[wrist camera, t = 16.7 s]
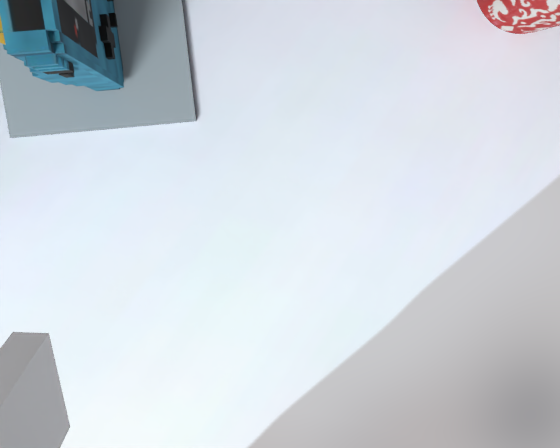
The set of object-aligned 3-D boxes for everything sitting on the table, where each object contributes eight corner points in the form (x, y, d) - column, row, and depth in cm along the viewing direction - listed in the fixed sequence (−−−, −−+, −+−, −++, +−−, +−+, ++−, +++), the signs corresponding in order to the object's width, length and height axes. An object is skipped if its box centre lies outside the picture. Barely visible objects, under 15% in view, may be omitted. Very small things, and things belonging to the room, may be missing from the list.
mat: (169, -102, 33) (169, -106, 33) (196, 121, 36) (195, 120, 35) (-29, -93, 32) (-32, -97, 32) (13, 137, 34) (10, 137, 34)
